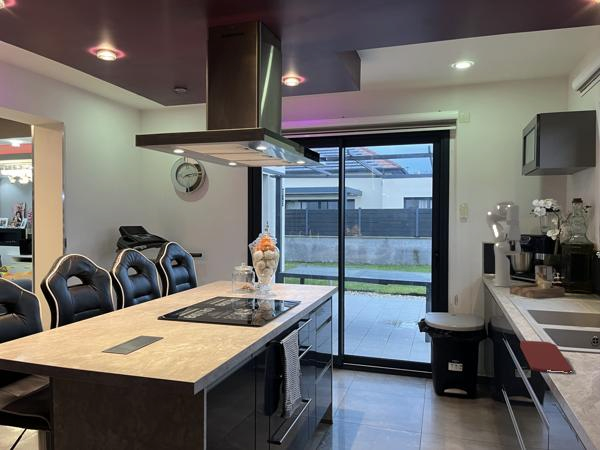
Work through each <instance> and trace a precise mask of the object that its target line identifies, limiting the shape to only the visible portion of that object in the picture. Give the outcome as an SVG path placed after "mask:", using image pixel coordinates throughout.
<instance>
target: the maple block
mask: <svg viewBox="0 0 600 450" xmlns="http://www.w3.org/2000/svg"><path fill="white" fill-rule="evenodd" d="M550 286H551V282H549V281H538V287H539V288H550Z"/></svg>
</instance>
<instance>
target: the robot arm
mask: <svg viewBox="0 0 600 450" xmlns="http://www.w3.org/2000/svg"><path fill="white" fill-rule="evenodd" d="M492 208H493V210H490V211H488V212H486V214H485V215H486V216H485V221H486V223H487V225H488V226H487V227H489V229H490V231H491V236H492V237H493V238H492V239H493V241H494V242H495V243H494V244H493V252H494V257H495V258H494V260H495V264H494V265H495V267H494V268H495V269H494V271H495V272H494V273H495V277H494V278H493V279H492V282H493V283H492V285H493V286H496V287H501V288H502V287H504V288H505V287H509V288H510V286H513V284H512V283H510V282H511V278H510V276H511V275H510V274H511V273H510V271H511V270H510V269H511V267H510V265H511V263H510V259H509V258H508V257H507V256H518V255H520V254H521V252H522V249H521V242H520V240H521V236H522V234H521V232H522V231H521V227H520V206H519V205H518V204H515V202H514V201H512V200H498V201H495V202H494V203H493V206H492ZM500 222H503V223H504V222H505V223H506V225H505V227H504V226H503V225H502V224H501V223H500Z"/></svg>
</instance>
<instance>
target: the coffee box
mask: <svg viewBox="0 0 600 450" xmlns="http://www.w3.org/2000/svg"><path fill="white" fill-rule="evenodd" d="M553 270H554V267H553V266H549V265H543V264H542V265H541V264H540V265H535V269H534V271H535V281H534V282H535V283H534V284H538V281H549V282H551V286H552V279H553V280H554V278H553V277H554V271H553Z"/></svg>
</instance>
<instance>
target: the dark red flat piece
mask: <svg viewBox="0 0 600 450" xmlns="http://www.w3.org/2000/svg"><path fill="white" fill-rule="evenodd" d="M519 344H520V345H519V346H520V348H521V351H522V353H523V355H524V357H525V359H526V361H527V362H528V365H529V367H530V369H531V370H532V371H535V372H541V373H547V372H546V371H547V370H551V371H564V372H570V371H573V372H574V370H573V368H572V367H571V365H570V364H569V362H568V361H567V359H566V357H565V356H564V354H563V353H562V352H561V350H560V349H559V347H558V346H557V344H554V343H552V342H551V341H550V342H549V341H541V340H540V341H538V340H521V341H520V343H519Z"/></svg>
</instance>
